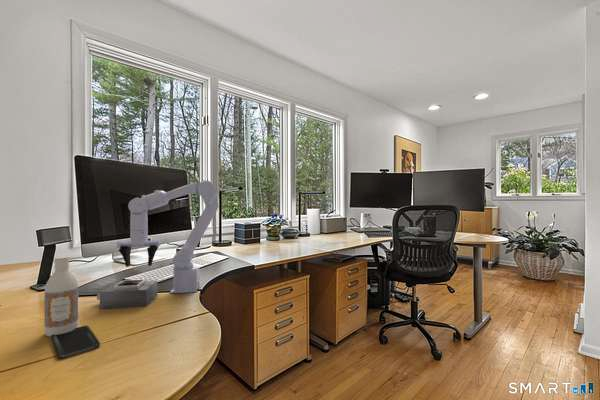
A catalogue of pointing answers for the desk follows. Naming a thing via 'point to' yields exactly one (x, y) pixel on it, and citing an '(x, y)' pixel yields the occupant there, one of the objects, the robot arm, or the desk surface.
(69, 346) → the phone
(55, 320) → the bath foam
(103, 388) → the desk surface
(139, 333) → the desk surface
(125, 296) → the grey box with opening
